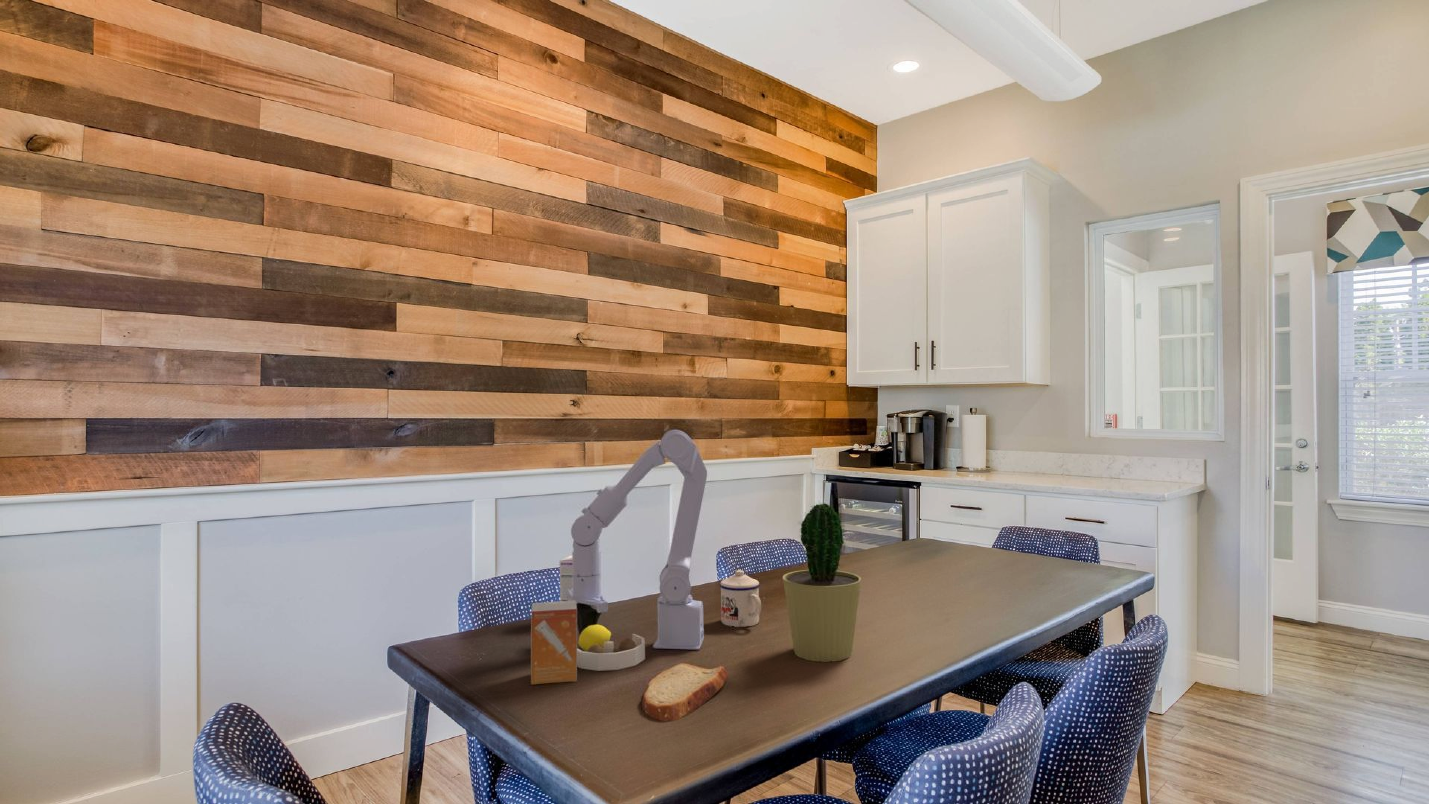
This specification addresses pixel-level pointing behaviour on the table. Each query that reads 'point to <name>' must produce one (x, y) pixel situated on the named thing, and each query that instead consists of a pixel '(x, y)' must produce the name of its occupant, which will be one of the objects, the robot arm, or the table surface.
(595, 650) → the walnut bead
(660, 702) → the slice of bread
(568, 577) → the syrup box
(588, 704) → the table surface
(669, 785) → the table surface
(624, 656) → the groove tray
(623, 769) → the table surface
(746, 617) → the teacup with lid
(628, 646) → the walnut bead
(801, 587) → the potted cactus
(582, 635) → the lemon
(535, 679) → the small box
